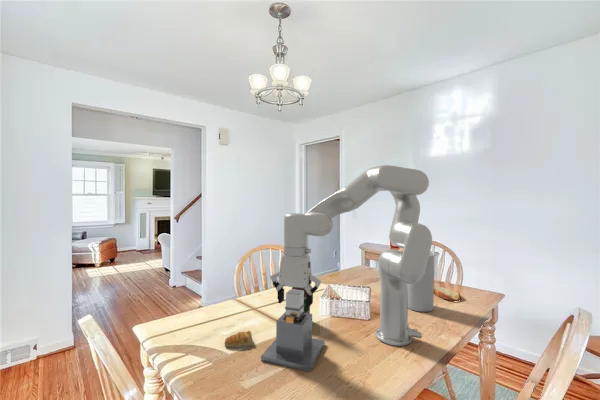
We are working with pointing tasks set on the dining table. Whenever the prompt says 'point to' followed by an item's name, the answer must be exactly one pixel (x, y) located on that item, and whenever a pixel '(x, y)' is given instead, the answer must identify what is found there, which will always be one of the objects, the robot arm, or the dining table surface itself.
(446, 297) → the slice of bread
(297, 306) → the column
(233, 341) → the pastry
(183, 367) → the dining table surface
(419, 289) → the cylinder vase
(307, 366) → the stand
